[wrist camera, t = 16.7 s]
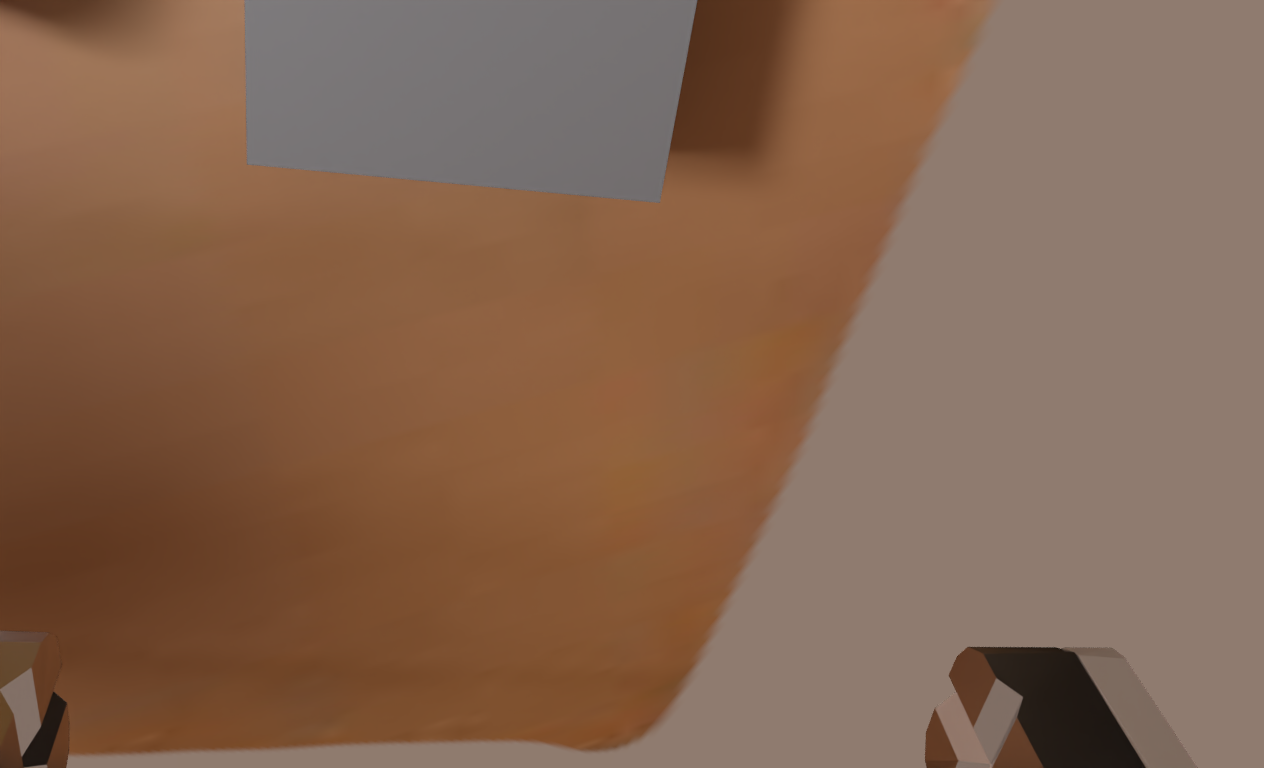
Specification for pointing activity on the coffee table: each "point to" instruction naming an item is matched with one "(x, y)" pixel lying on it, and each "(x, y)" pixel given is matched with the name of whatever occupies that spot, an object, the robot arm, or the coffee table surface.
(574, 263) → the coffee table surface
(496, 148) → the slate block
